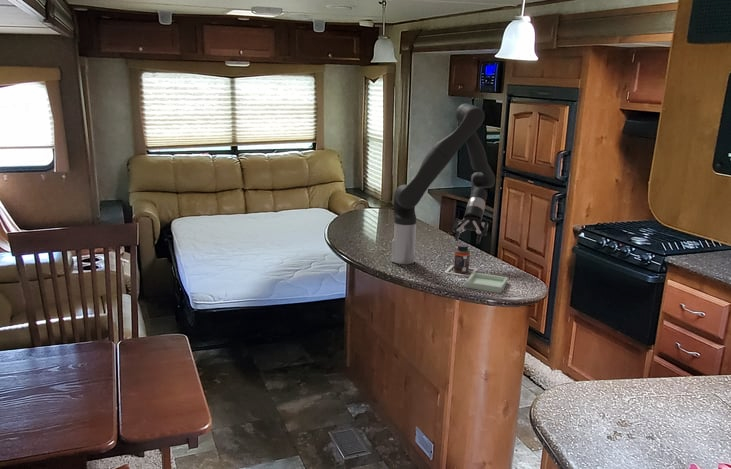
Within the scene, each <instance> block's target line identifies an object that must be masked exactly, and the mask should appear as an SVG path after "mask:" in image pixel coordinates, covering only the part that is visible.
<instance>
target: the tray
mask: <svg viewBox="0 0 731 469" xmlns="http://www.w3.org/2000/svg"><path fill="white" fill-rule="evenodd" d="M472 272H473V271H472ZM472 272H471V273H472ZM508 280H509V277H508V276H500V275H495V274H487V273H482V272H481V273H480V272H476V273H475V272H473V273H472V275H471V276H470V277H467V279H466V281H465V283H464V288H465V289H471V290H477V291H483V292H491V293H495V294H501V293H502V292H503V291H504V289H505V287H506V285H507V284H508Z"/></svg>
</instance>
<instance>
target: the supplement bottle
mask: <svg viewBox="0 0 731 469" xmlns="http://www.w3.org/2000/svg"><path fill="white" fill-rule="evenodd" d="M468 248H469V245H468V244H463V243H462V244H461V243H460V244H458V245H457V249H456V250H455V251H454V252H455V254H454V264H453V265H454V267H453V271H454V273H458V274H468V273H469V271H470V270H469V268H470V256H471V255H470V253H471V252H470V250H468Z"/></svg>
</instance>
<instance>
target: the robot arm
mask: <svg viewBox="0 0 731 469" xmlns="http://www.w3.org/2000/svg"><path fill="white" fill-rule="evenodd" d="M455 120H456V121H457V125H458V126H457V127H456V129H455V130H454V131H453V132H451V133H449V135H447V136H445V137H444V138H442V139H440V140H439V141H438V142H436V143H435V144H434V145H433V146H432V147H431V149H430V150H429V151H428V152H427V154H426V156H424V158H423V160H422V162H421V165H420V167H419V169H418V171H417V173H416V175H415V176H414V178H412V180H411V181H410V182H409V183H408V184H401V185H398V186H397V187H396V189H395V191H394V193H393V217H394V224H393V226H394V227H393V239H392V240H391V257H390V258H391V259H390V260H391V261H390V262H391V263H392V262H393V263H395V264H398V265H411V264H414V262H415V256H416V255H415V253H416V252H415V250H416V237H417V236H416V233H417V216H416V211H415V210H416V209H415V208H416V206H418V204H419V203H420V201H421V199H422V198H423V196H424V194H425V193H426V192H427V190H428V189H429V187H430V186H431V185H432V183H433V182H434V181H435V180H436V178H437V177H438V176H439V175H440V174H441V173H442V171H443V170H444V169H445V168H446V166H448V164H449V163H450V161H451V160H452V159H453V158H454V156H455V155H456V154H457V153H458V151H459V150H460V149H461V148H462V146H463V145H464V144H465V145H466V148H467V152H468V156H469V161H470V165H471V169H472V170H473V171H474V172H473V173H472V174H471V175H470V185H471V189H470V190H471V191H470V195H469V200H468V202H467V205H466V207H465V208H466V209H465V212H464V215H463V219H459V218H458V217H456V218H455V220H454V224H453V227H452V231H453V233H454V234H455V235H454V239H455V242H459V240H460V239H459V238H460V235H461V233H462V232H465V231H470V232H476V234H477V235H476V240H475V244H476V245H478V244H480V243H481V239H482V237H486V236H487V235H488V229H489V223H488V221H483V222H482V220H483V217H484V212H485V208H486V201H487V197H488V191H487V190H486V189H489V188H493V187H494V185H495V183H496V177H495V174H494V171H493V170H492V168H491V166H490V165H489V163H488V157H487V152H486V150H485V147H484V145H483V143H482V141H481V139H480V137H479V135H478V133H477V130H478V129H480V128H481V126H482V124H483V122H484V120H485V111H484V110H483V109H482V108H480V107H478V106H476V105H473V104H470V103H467V102H465V103H462V104H460V105H459V106H458V107H457V109H456V112H455ZM475 171H476V172H475ZM459 225H460V226H459ZM458 226H459V227H458ZM480 227H482V228H483V231H482V230H480V229H481V228H480Z"/></svg>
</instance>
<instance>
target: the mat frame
mask: <svg viewBox="0 0 731 469" xmlns="http://www.w3.org/2000/svg"><path fill="white" fill-rule="evenodd" d="M452 269H454V264H451V265H450V266H449V267H448V268H447V269H446V270H445V271H444V272H443V274H445V275H452V276H457V277H466V278H469V277H470V276H471V275H472V273H473V272H475V273H478V270H479V269H478V268H476V267H475V268H474V267H469V270H468V271H471V273H470V274H466V273H457V272H451V271H452Z"/></svg>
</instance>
